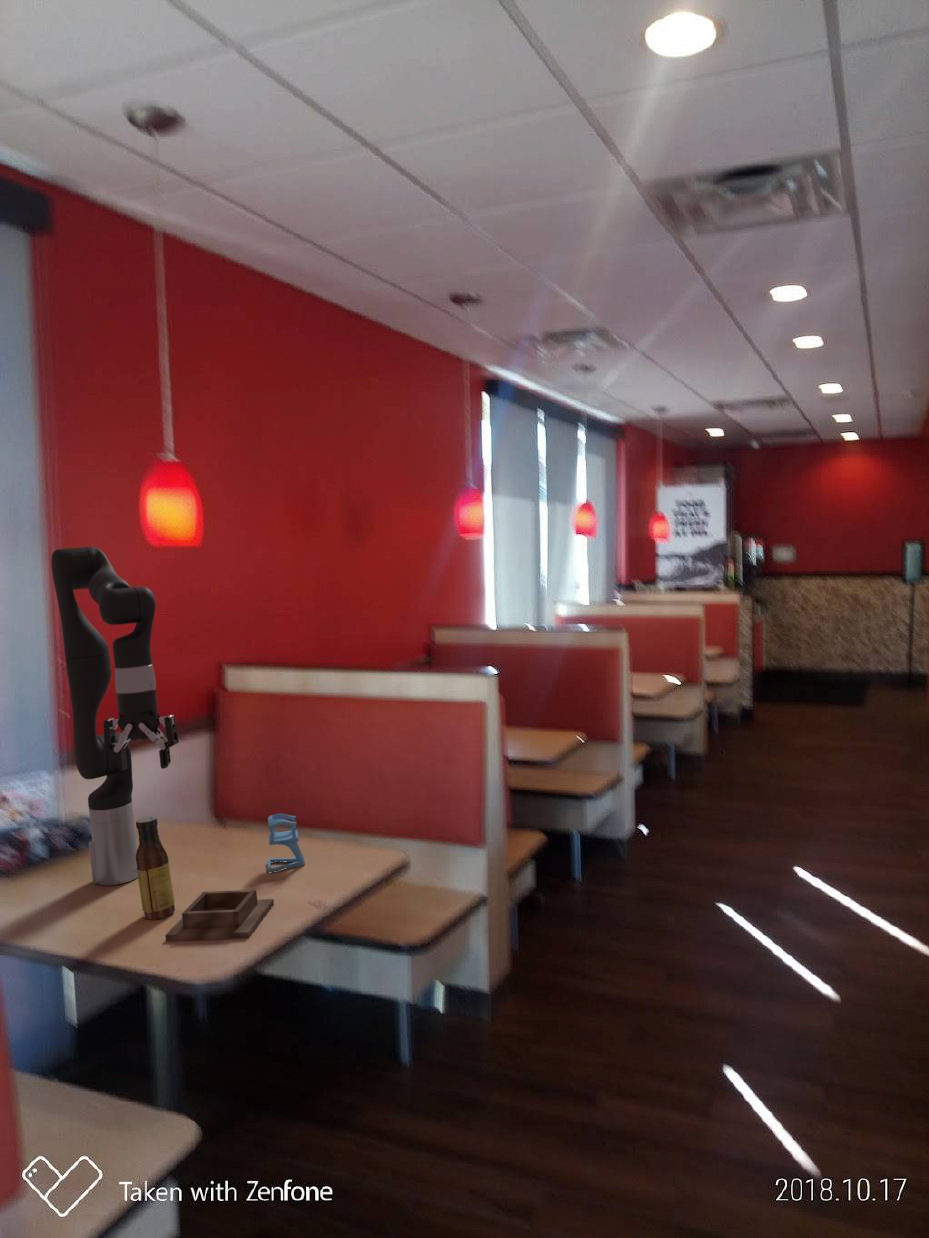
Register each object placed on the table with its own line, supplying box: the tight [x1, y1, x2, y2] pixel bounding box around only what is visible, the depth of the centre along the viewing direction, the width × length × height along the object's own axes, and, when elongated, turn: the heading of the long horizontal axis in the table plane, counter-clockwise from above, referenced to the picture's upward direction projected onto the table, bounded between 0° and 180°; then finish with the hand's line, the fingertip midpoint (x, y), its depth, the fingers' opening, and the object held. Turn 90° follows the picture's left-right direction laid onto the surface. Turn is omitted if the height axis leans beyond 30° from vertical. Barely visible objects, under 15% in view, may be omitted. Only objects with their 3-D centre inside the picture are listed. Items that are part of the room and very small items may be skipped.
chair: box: [267, 813, 306, 873], centre depth 213 cm, size 8×8×12 cm
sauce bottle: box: [135, 816, 176, 920], centre depth 188 cm, size 6×6×20 cm
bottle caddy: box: [164, 889, 275, 942], centre depth 183 cm, size 16×16×4 cm
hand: (144, 768), depth 187 cm, fingers open, 8 cm apart
